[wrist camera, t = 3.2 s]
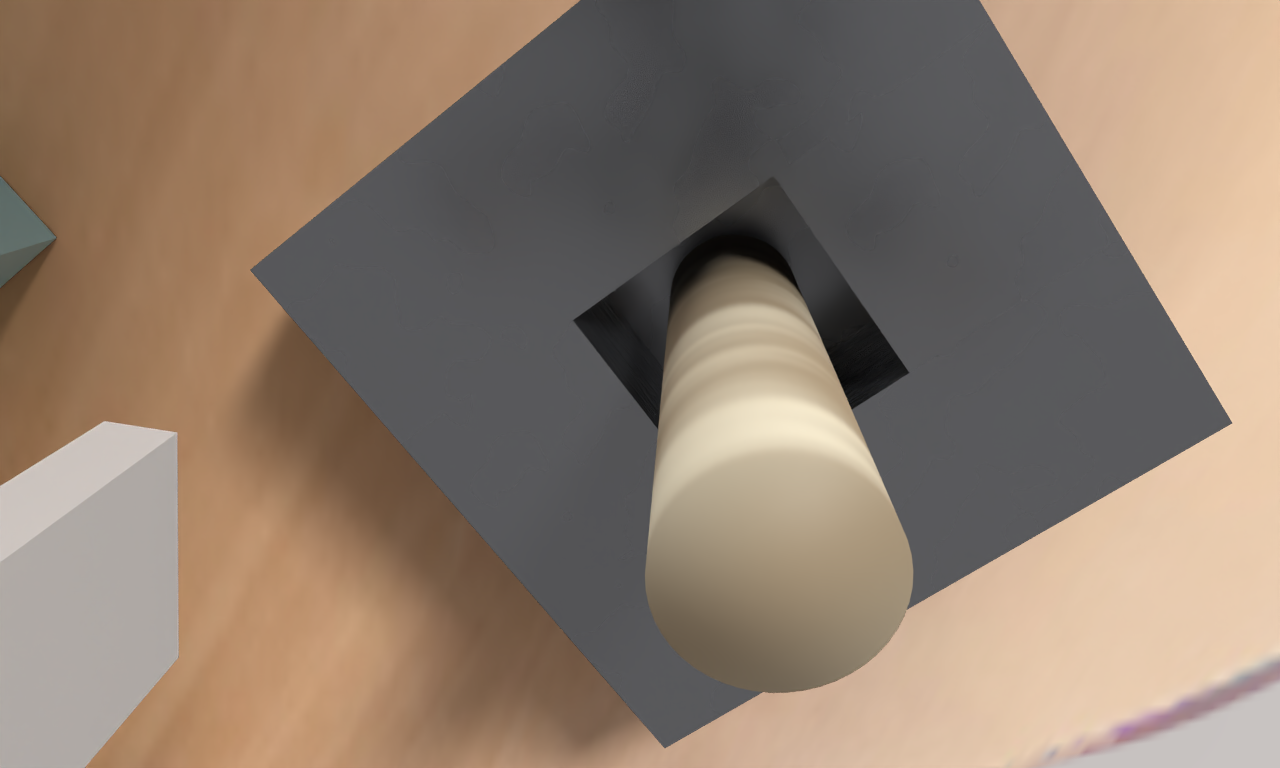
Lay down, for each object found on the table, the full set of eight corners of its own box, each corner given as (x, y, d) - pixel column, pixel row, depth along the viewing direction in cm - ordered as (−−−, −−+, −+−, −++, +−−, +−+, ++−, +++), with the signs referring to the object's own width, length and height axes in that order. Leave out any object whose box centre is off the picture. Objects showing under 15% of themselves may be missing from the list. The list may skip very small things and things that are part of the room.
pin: (645, 283, 23) (591, 551, 11) (749, 208, 23) (816, 406, 10) (718, 380, 24) (744, 733, 12) (821, 310, 23) (964, 609, 11)
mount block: (336, 225, 24) (250, 270, 20) (813, -160, 21) (848, -219, 16) (669, 627, 28) (664, 748, 23) (1127, 349, 24) (1232, 423, 20)
